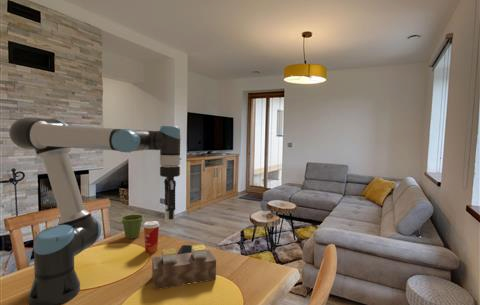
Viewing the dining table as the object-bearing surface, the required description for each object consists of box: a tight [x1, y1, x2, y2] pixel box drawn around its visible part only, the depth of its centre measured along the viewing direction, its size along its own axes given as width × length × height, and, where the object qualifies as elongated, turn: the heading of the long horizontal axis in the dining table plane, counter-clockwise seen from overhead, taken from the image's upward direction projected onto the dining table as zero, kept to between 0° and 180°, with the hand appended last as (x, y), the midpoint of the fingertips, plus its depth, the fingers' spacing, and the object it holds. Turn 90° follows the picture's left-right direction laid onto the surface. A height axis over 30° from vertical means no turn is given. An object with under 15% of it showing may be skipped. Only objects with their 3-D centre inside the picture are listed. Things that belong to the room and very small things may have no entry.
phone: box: [176, 244, 193, 254], centre depth 133 cm, size 8×1×15 cm
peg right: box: [191, 243, 207, 261], centre depth 111 cm, size 5×5×7 cm
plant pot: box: [120, 213, 145, 240], centre depth 151 cm, size 12×12×11 cm
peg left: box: [161, 247, 177, 265], centre depth 107 cm, size 5×5×7 cm
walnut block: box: [151, 249, 217, 291], centre depth 109 cm, size 24×10×8 cm, turn 111°
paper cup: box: [142, 220, 160, 254], centre depth 134 cm, size 8×8×14 cm
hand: (169, 224), depth 106 cm, fingers open, 6 cm apart
